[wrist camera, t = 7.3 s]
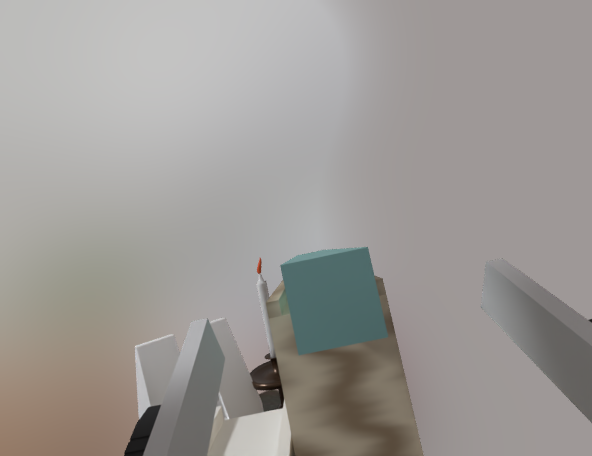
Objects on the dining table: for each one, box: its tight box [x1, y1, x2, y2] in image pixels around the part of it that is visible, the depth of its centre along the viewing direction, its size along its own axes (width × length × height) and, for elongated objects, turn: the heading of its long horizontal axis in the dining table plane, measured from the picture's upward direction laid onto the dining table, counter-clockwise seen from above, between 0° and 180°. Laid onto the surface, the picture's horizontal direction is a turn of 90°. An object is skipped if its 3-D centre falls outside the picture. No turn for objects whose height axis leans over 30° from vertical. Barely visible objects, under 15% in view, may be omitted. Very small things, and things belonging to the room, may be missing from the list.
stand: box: [266, 276, 423, 456], centre depth 29 cm, size 9×18×31 cm, turn 178°
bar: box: [281, 247, 388, 355], centre depth 28 cm, size 4×30×4 cm, turn 178°
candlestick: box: [250, 258, 284, 409], centre depth 52 cm, size 11×11×35 cm
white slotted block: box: [135, 318, 264, 420], centre depth 50 cm, size 19×15×25 cm
